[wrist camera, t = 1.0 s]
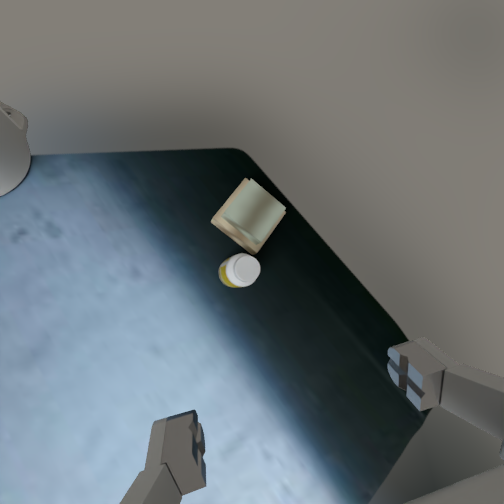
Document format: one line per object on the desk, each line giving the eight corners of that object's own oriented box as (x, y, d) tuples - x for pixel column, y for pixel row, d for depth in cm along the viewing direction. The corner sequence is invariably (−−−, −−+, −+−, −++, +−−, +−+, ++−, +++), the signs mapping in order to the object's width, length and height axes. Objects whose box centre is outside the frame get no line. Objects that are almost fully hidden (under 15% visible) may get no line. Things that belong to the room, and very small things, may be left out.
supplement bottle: (237, 292, 48) (254, 293, 38) (212, 277, 47) (222, 274, 37) (251, 267, 49) (270, 262, 40) (227, 252, 48) (241, 243, 39)
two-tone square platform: (210, 221, 48) (215, 212, 42) (241, 184, 51) (250, 170, 45) (252, 254, 49) (262, 250, 44) (280, 216, 52) (293, 207, 47)
